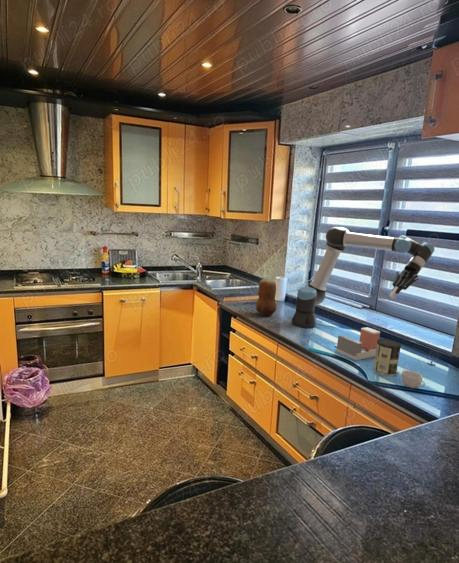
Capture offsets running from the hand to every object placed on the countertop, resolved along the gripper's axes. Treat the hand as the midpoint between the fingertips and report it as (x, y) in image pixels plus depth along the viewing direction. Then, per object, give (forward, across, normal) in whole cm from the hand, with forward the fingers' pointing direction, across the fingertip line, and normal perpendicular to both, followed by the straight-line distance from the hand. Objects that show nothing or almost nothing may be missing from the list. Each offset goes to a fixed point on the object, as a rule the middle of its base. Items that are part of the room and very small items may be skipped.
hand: (391, 297), depth 204 cm
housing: (+35, -1, -6) cm, 35 cm away
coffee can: (+41, -22, +1) cm, 47 cm away
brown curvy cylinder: (+39, +74, 0) cm, 84 cm away
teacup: (+43, -38, +2) cm, 58 cm away
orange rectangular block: (+29, -1, -8) cm, 30 cm away
